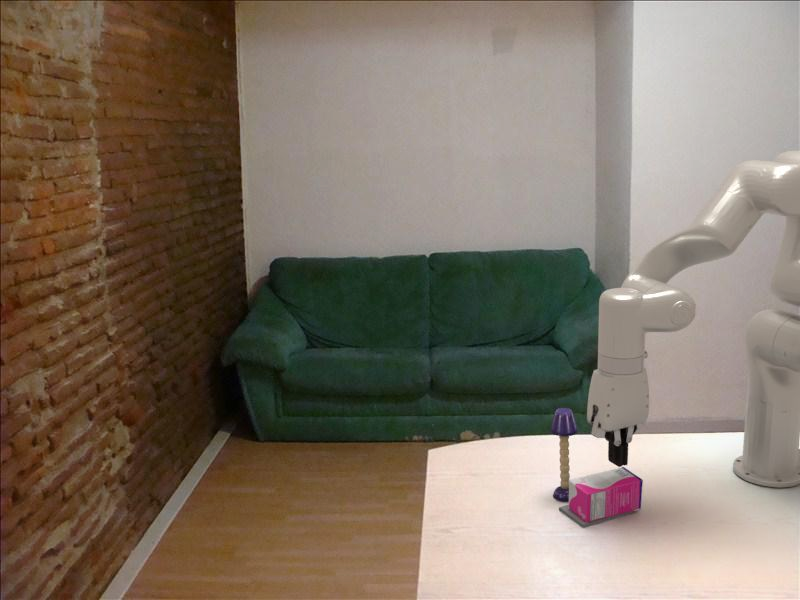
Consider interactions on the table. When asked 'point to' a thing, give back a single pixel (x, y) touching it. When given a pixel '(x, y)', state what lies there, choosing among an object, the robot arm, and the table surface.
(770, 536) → the table surface
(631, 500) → the supplement box
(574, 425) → the toy lamp
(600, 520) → the mat
